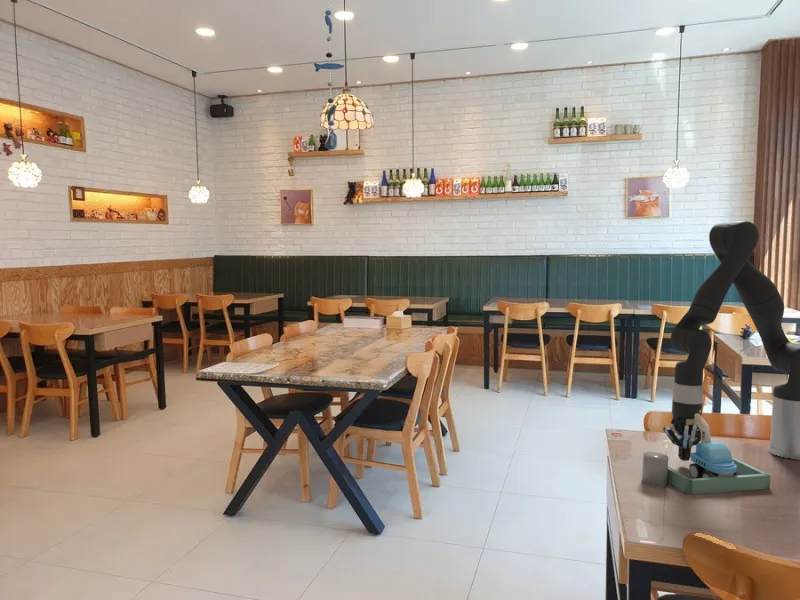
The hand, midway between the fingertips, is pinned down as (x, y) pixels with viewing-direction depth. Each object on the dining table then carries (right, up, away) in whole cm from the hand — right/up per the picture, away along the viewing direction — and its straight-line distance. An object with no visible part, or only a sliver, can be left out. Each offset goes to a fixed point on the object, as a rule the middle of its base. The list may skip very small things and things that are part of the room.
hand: (684, 459), depth 165 cm
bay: (+2, -3, -10) cm, 11 cm away
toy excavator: (+2, -3, -8) cm, 9 cm away
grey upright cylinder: (-13, -3, -11) cm, 18 cm away
